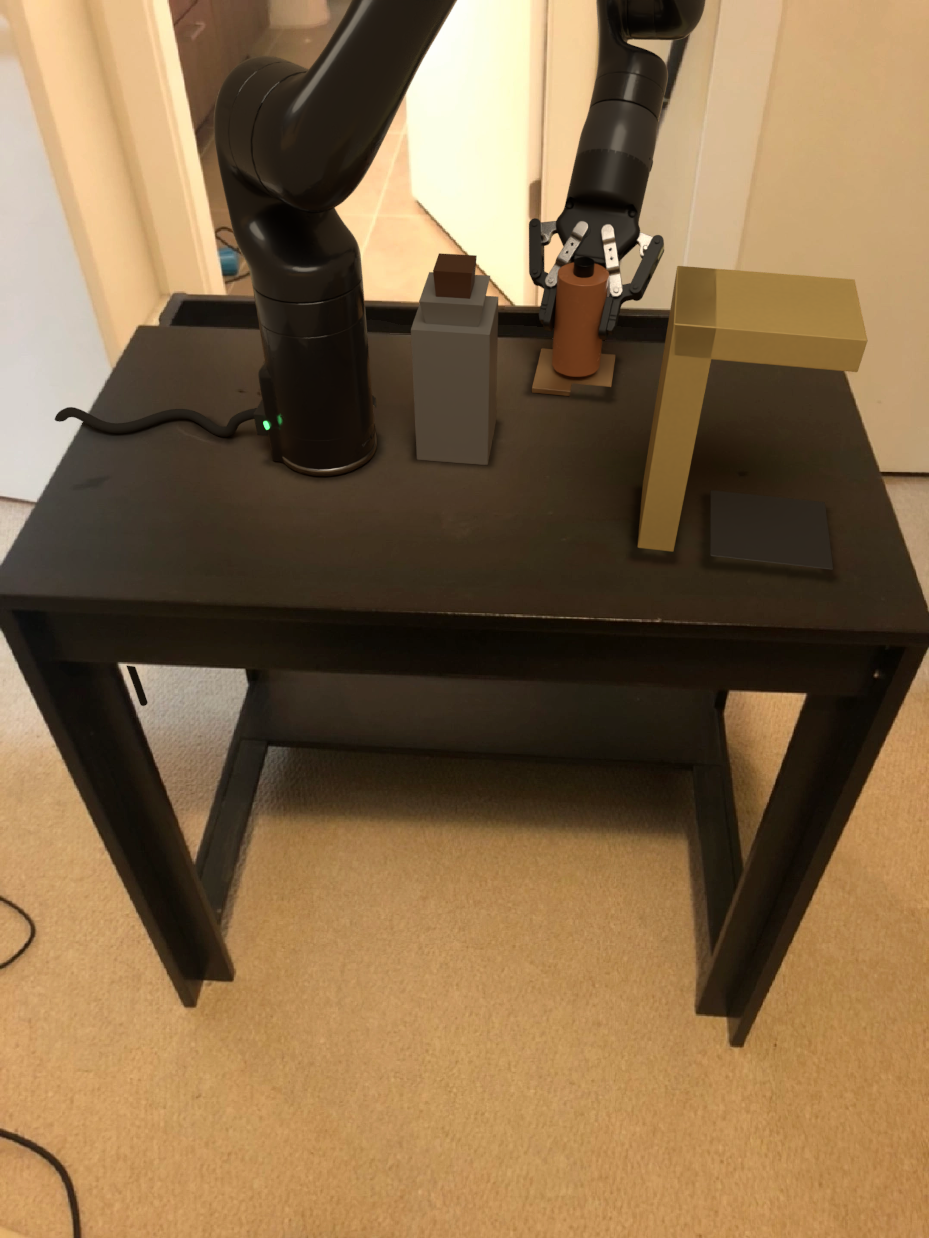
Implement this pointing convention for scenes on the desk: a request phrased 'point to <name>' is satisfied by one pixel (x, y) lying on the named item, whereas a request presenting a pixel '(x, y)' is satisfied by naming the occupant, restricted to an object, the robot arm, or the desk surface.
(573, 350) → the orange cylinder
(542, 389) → the cork mat
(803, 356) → the tan l-shaped post
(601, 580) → the desk surface
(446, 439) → the perfume bottle
